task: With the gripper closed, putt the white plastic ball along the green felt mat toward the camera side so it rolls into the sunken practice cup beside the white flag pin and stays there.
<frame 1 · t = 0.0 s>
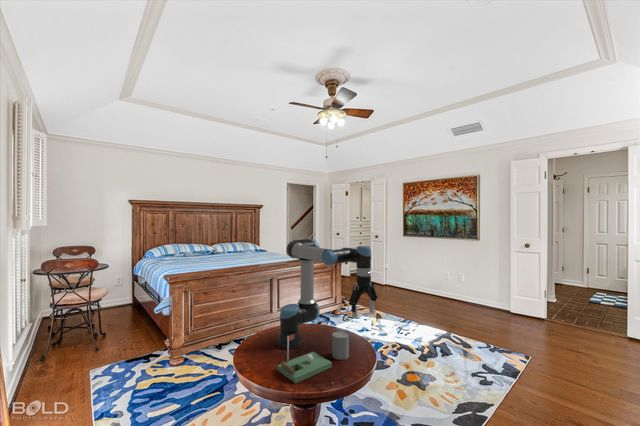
hand: (363, 315, 162), 28 cm above the table, fingers open, 13 cm apart
grey can: (340, 356, 175), on the table
green: (304, 368, 161), on the table
ball: (309, 358, 163), point 4 cm above the table, touching green
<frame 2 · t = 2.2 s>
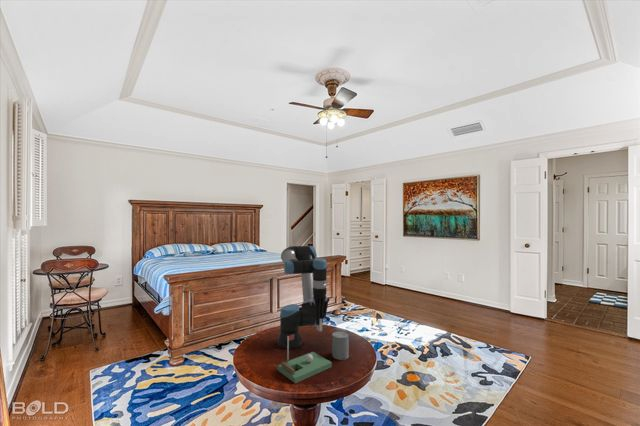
hand: (319, 330, 167), 18 cm above the table, fingers closed
nothing on the table moved.
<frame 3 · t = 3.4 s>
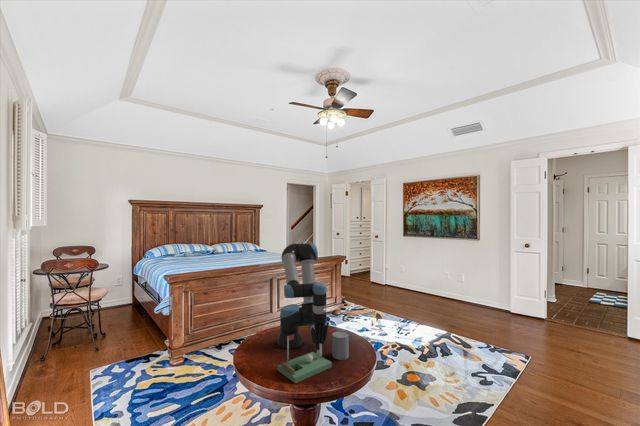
hand: (319, 354, 167), 4 cm above the table, fingers closed
nothing on the table moved.
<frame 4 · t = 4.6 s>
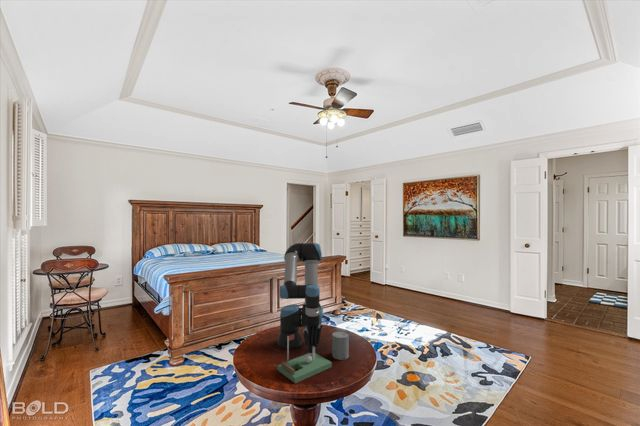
hand: (312, 358, 164), 4 cm above the table, fingers closed
ball: (308, 358, 162), point 4 cm above the table, tilted 18°, touching green
everything else where it was.
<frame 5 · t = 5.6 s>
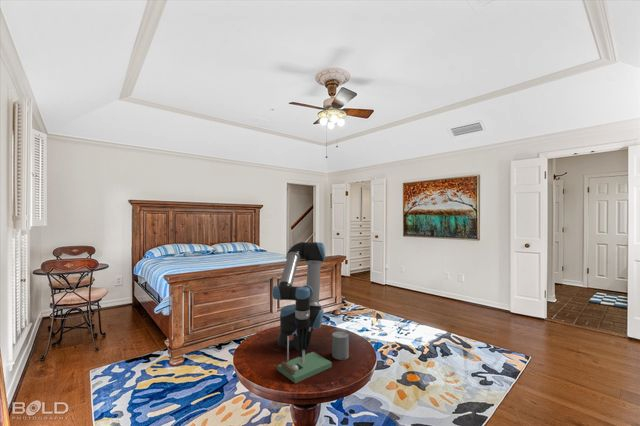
hand: (302, 362, 160), 4 cm above the table, fingers closed
ball: (294, 368, 156), point 2 cm above the table, tilted 60°, touching green
everything else where it was.
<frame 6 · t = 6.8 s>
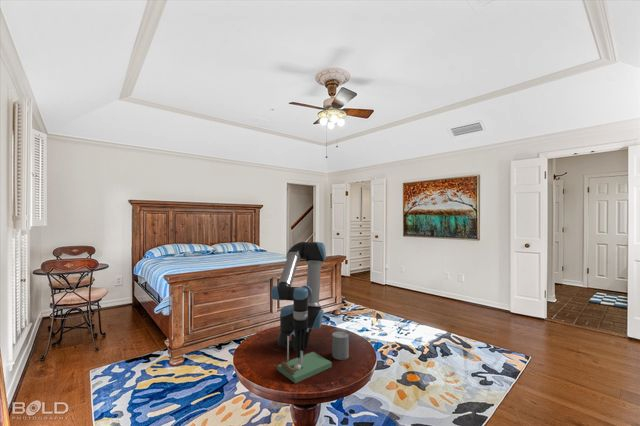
hand: (300, 362, 159), 4 cm above the table, fingers closed
ball: (297, 367, 157), point 2 cm above the table, tilted 109°, touching green, gripper
everything else where it was.
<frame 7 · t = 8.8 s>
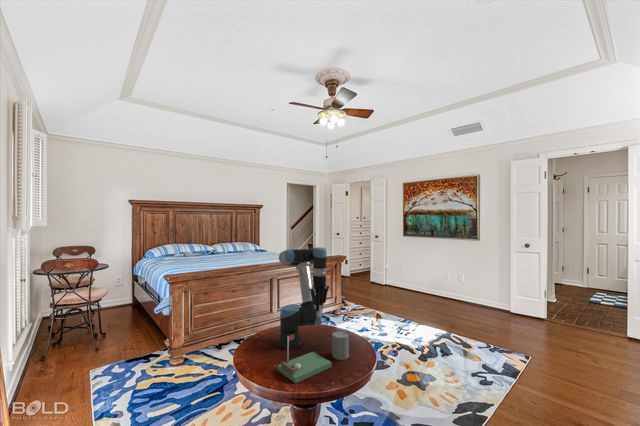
hand: (319, 316, 173), 23 cm above the table, fingers closed
ball: (297, 367, 158), point 2 cm above the table, tilted 112°, touching green
everything else where it was.
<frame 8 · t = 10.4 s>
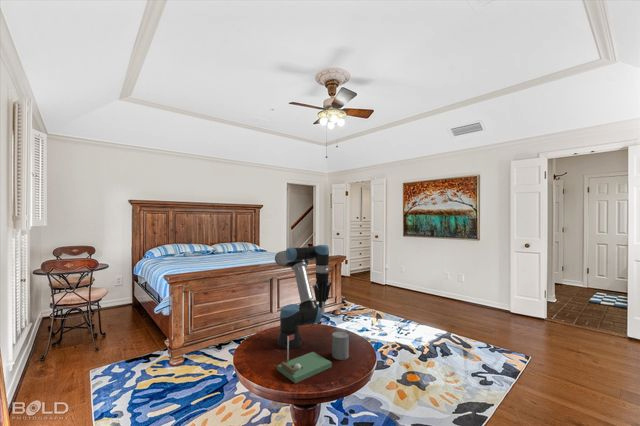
hand: (321, 312, 176), 24 cm above the table, fingers closed
nothing on the table moved.
at the end: ball 1.0 cm from the target spot on the green, point 2.2 cm above the green's base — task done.
